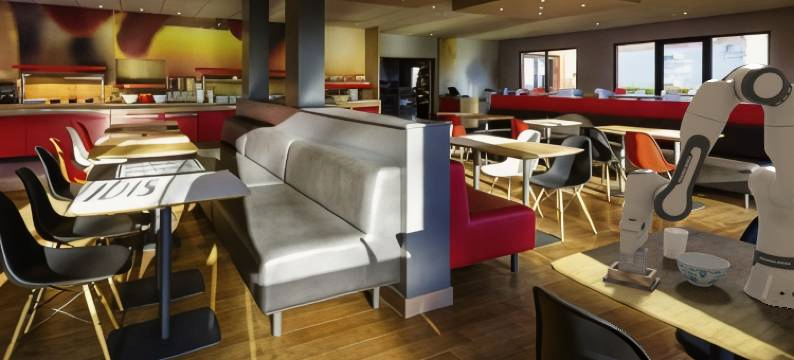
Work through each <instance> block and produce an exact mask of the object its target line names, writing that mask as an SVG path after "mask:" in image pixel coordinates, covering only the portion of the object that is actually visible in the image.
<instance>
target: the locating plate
mask: <svg viewBox="0 0 794 360" xmlns="http://www.w3.org/2000/svg"><path fill="white" fill-rule="evenodd" d="M618 265H619V261H614V262H613V263H612V264H611V265H610V266H609V267H608V268H607V273H606V274H605V275H604V276H603V277H602V282H607V283H612V284H616V285H621V286H625V287H628V288H634V289H636V290H637V289H638V290H641V291H646V292H651V293H653V291H654V290H655V288H656V287H657V286H658V285H659V283H660V282H661V277H657V275H658V274H657V272H658V269H656V268H655V269H653V268H649V267H647V273H646V274H645V275H640V274H635V273H631V272H626V271H621V270H618Z"/></svg>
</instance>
